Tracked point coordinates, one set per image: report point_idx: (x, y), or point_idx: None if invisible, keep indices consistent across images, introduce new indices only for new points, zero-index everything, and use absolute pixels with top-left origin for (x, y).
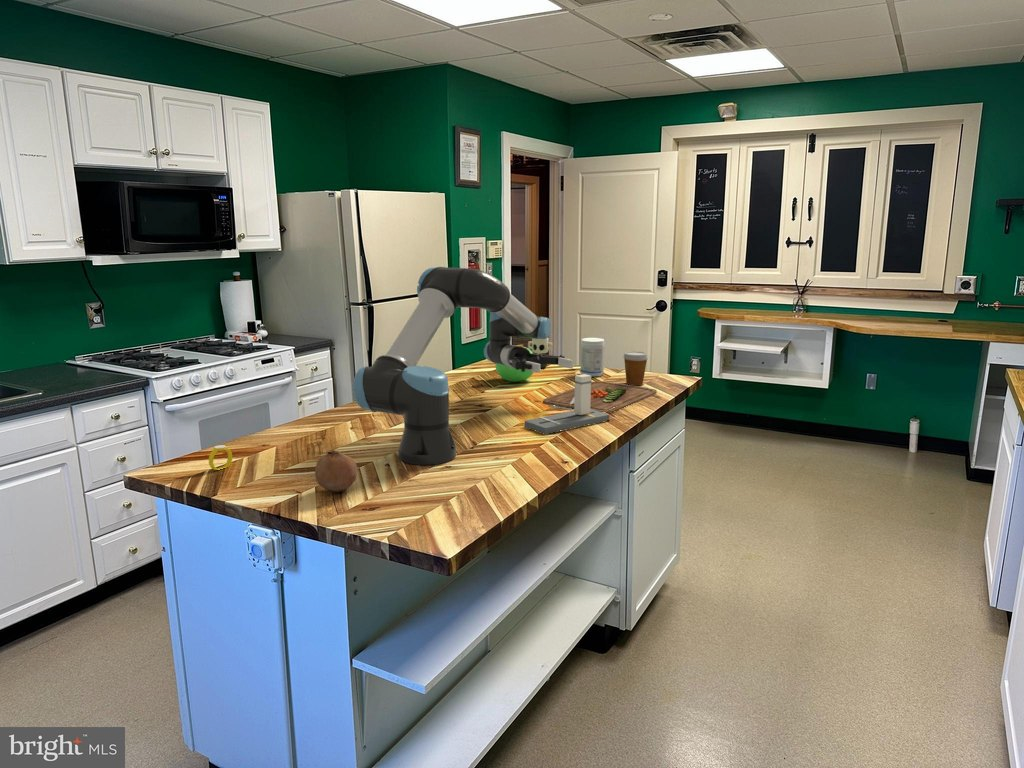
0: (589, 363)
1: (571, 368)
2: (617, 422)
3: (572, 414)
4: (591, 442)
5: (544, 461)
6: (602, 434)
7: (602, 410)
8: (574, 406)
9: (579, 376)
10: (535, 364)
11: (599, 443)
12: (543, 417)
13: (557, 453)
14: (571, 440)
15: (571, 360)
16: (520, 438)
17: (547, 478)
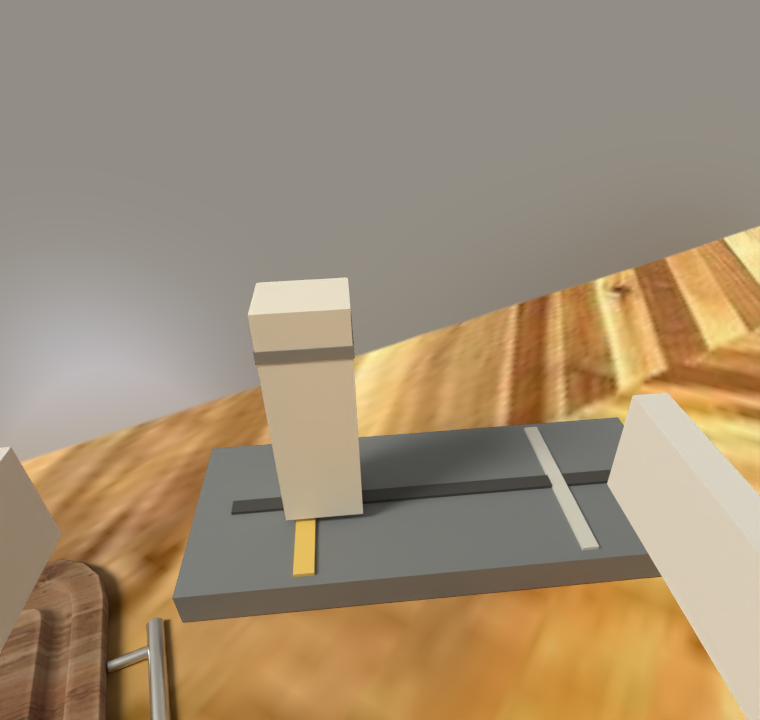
0: None
1: (54, 533)
2: (214, 443)
3: (370, 525)
4: (476, 343)
5: (676, 303)
6: (390, 374)
7: (81, 591)
8: (360, 484)
9: (343, 289)
10: (709, 454)
11: (458, 333)
12: (570, 549)
13: (622, 322)
14: (531, 371)
15: (7, 447)
16: (739, 445)
17: (688, 259)
